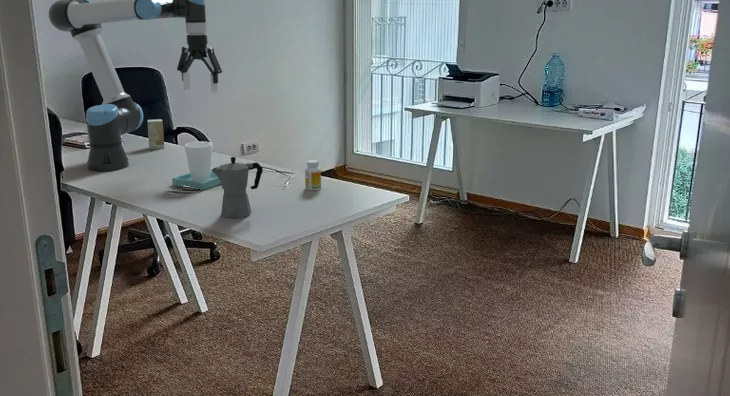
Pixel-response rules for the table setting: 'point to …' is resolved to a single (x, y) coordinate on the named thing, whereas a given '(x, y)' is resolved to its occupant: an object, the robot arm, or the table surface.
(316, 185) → the supplement bottle
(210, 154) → the foam cup
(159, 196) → the table surface
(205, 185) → the tray
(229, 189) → the coffeepot
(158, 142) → the skincare box
